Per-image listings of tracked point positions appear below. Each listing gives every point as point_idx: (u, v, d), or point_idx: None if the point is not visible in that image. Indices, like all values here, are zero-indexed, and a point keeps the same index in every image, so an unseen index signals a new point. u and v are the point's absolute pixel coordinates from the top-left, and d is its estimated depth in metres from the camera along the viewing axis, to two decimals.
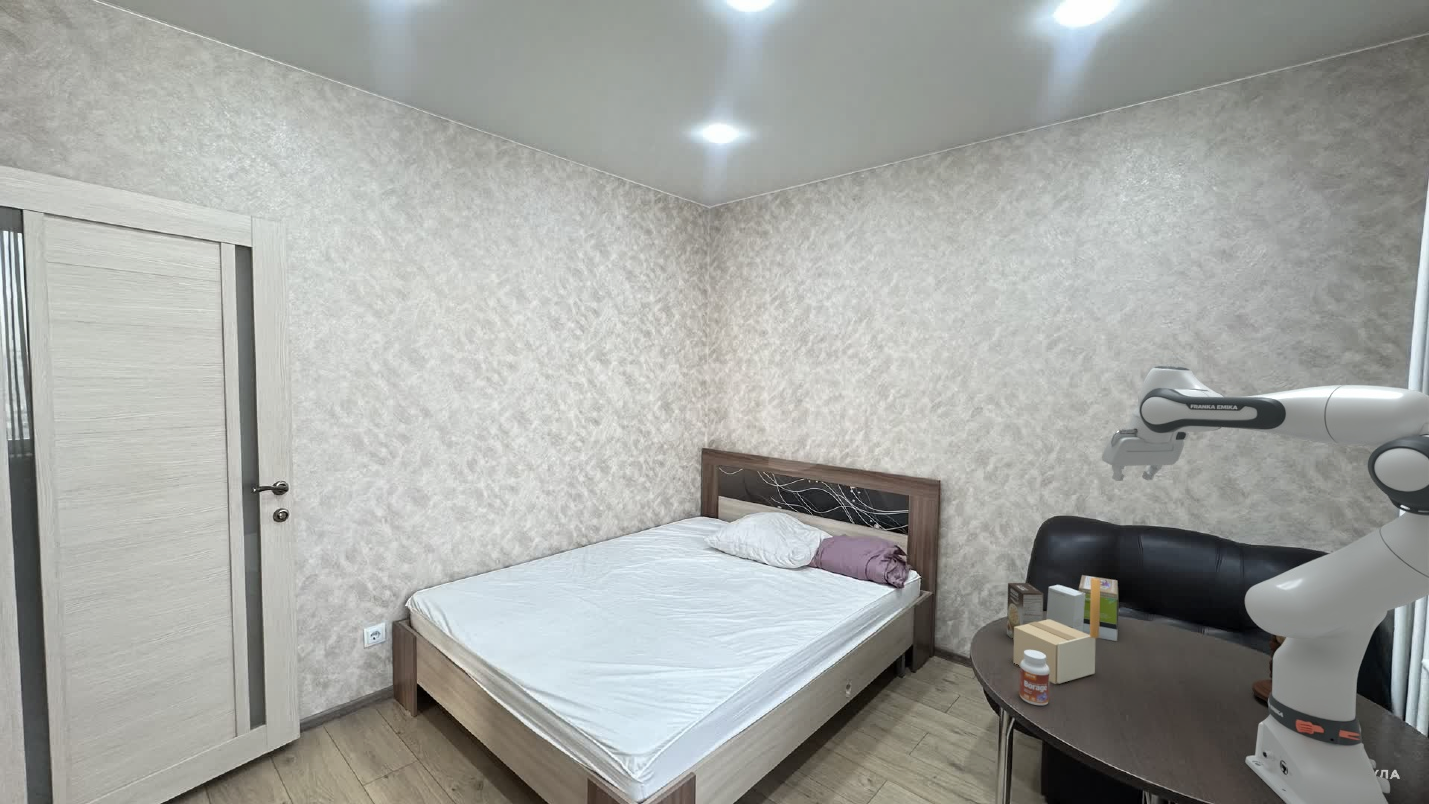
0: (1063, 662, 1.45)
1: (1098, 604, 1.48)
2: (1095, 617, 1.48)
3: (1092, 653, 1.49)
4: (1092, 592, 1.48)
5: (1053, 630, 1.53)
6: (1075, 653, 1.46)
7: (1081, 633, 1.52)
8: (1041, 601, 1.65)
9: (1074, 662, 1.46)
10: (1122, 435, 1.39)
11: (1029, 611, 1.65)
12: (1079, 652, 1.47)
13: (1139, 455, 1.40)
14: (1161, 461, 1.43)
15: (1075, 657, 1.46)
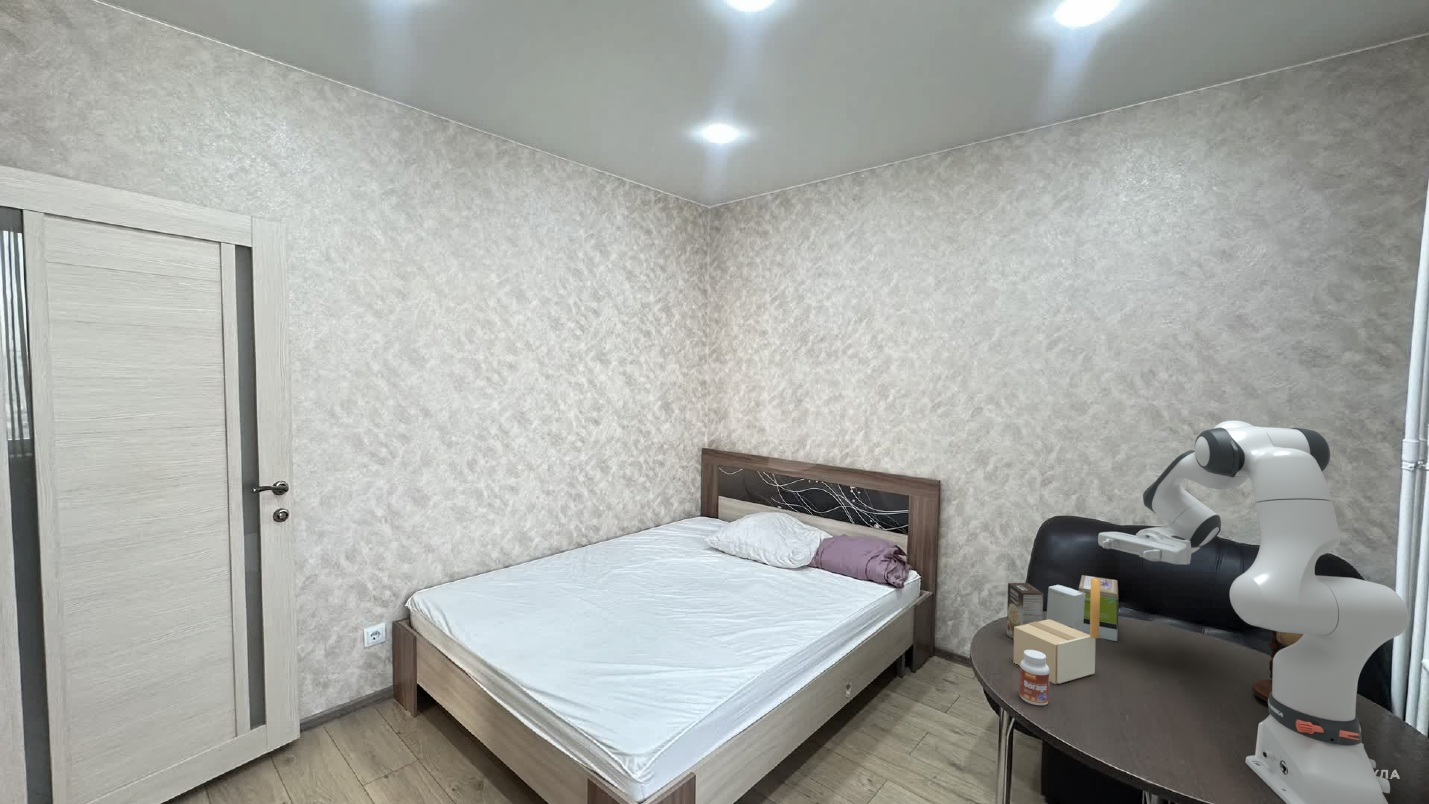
0: (1063, 662, 1.45)
1: (1098, 604, 1.48)
2: (1095, 617, 1.48)
3: (1092, 653, 1.49)
4: (1092, 592, 1.48)
5: (1053, 630, 1.53)
6: (1075, 653, 1.46)
7: (1081, 633, 1.52)
8: (1041, 601, 1.65)
9: (1074, 662, 1.46)
10: None
11: (1029, 611, 1.65)
12: (1079, 652, 1.47)
13: (1130, 537, 1.58)
14: (1156, 545, 1.51)
15: (1075, 657, 1.46)
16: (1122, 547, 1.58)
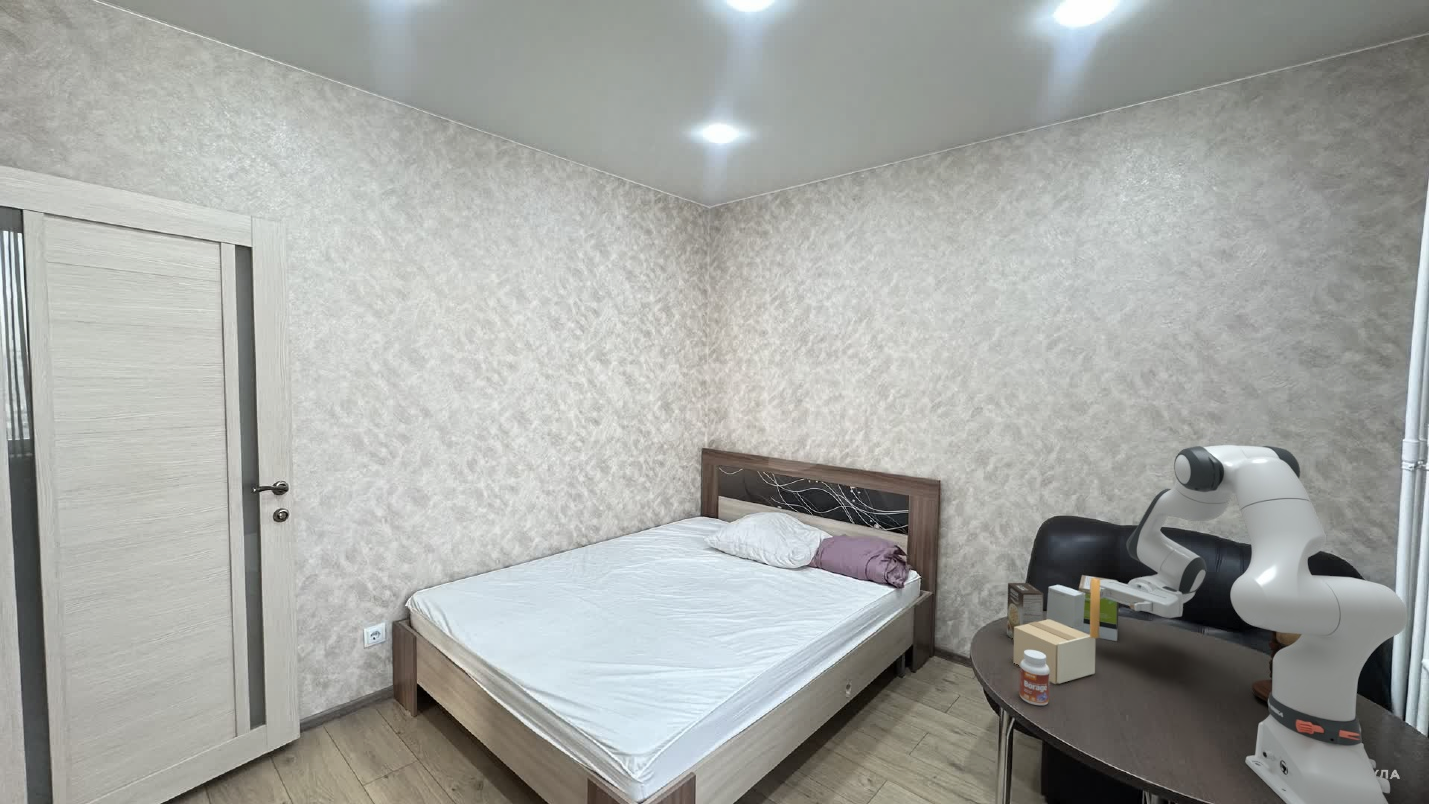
0: (1063, 662, 1.45)
1: (1098, 604, 1.48)
2: (1095, 617, 1.48)
3: (1092, 653, 1.49)
4: (1092, 592, 1.48)
5: (1053, 630, 1.53)
6: (1075, 653, 1.46)
7: (1081, 633, 1.52)
8: (1041, 601, 1.65)
9: (1074, 662, 1.46)
10: None
11: (1029, 611, 1.65)
12: (1079, 652, 1.47)
13: (1121, 587, 1.57)
14: (1147, 597, 1.49)
15: (1075, 657, 1.46)
16: (1114, 597, 1.57)
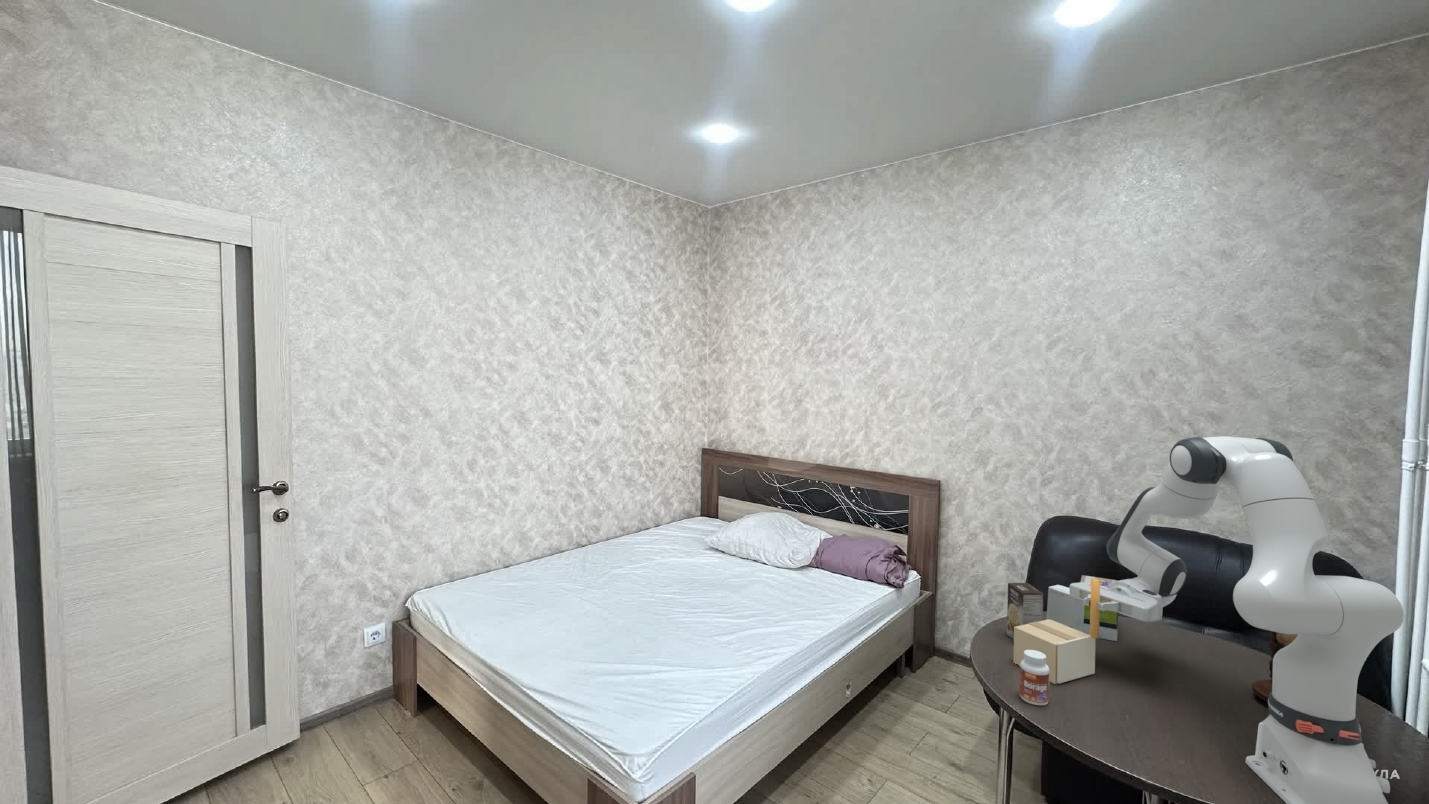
0: (1063, 662, 1.45)
1: None
2: (1095, 617, 1.48)
3: (1092, 653, 1.49)
4: (1092, 592, 1.48)
5: (1053, 630, 1.53)
6: (1075, 653, 1.46)
7: (1081, 633, 1.52)
8: (1041, 601, 1.65)
9: (1074, 662, 1.46)
10: None
11: (1030, 611, 1.65)
12: (1079, 652, 1.47)
13: (1101, 590, 1.54)
14: (1126, 600, 1.46)
15: (1075, 657, 1.46)
16: None
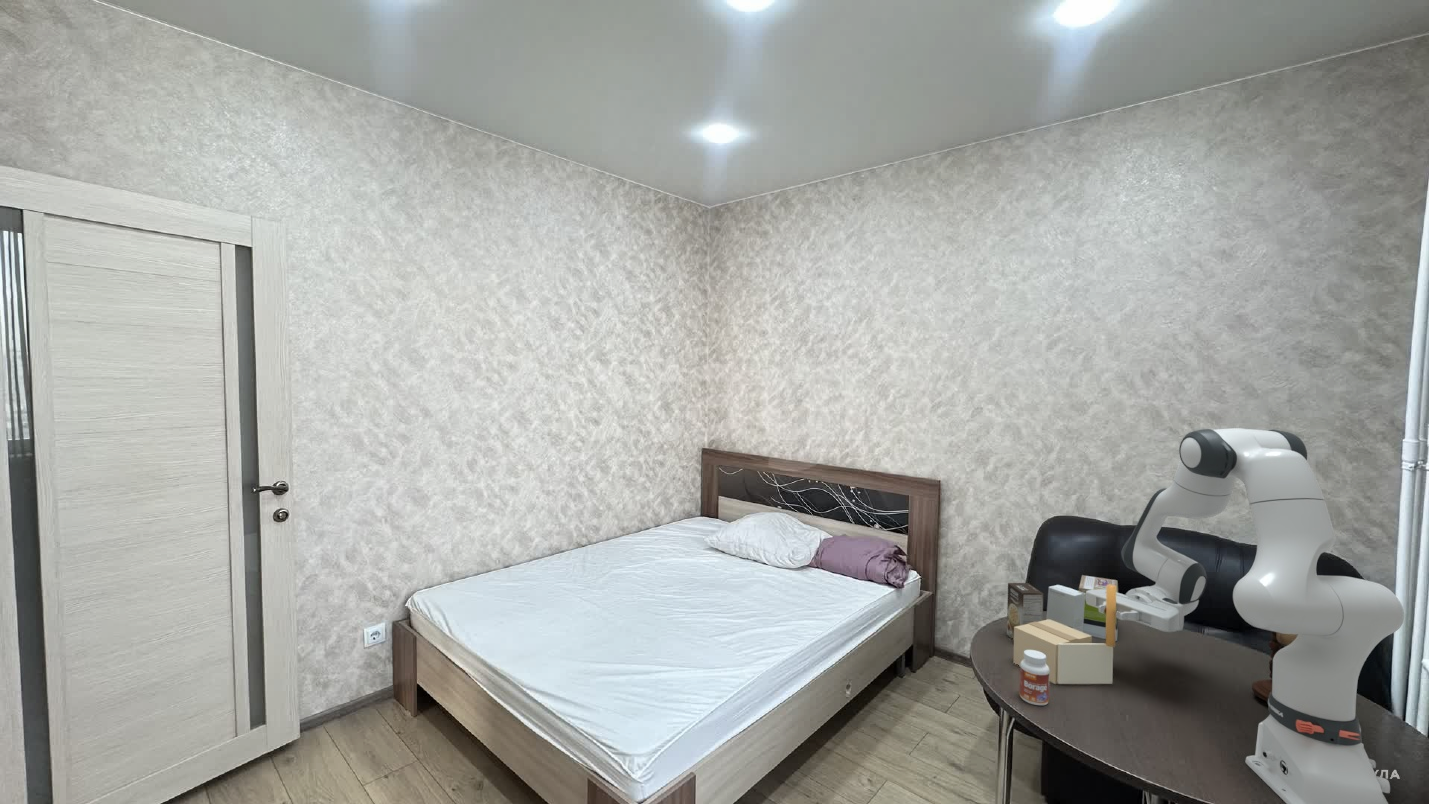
0: (1064, 663, 1.44)
1: (1113, 611, 1.43)
2: (1109, 625, 1.43)
3: (1108, 662, 1.44)
4: (1107, 598, 1.44)
5: (1053, 630, 1.53)
6: (1082, 657, 1.44)
7: (1081, 633, 1.52)
8: (1041, 601, 1.65)
9: (1081, 666, 1.44)
10: None
11: (1029, 611, 1.65)
12: (1088, 657, 1.44)
13: (1119, 598, 1.48)
14: (1145, 609, 1.40)
15: (1082, 661, 1.44)
16: None
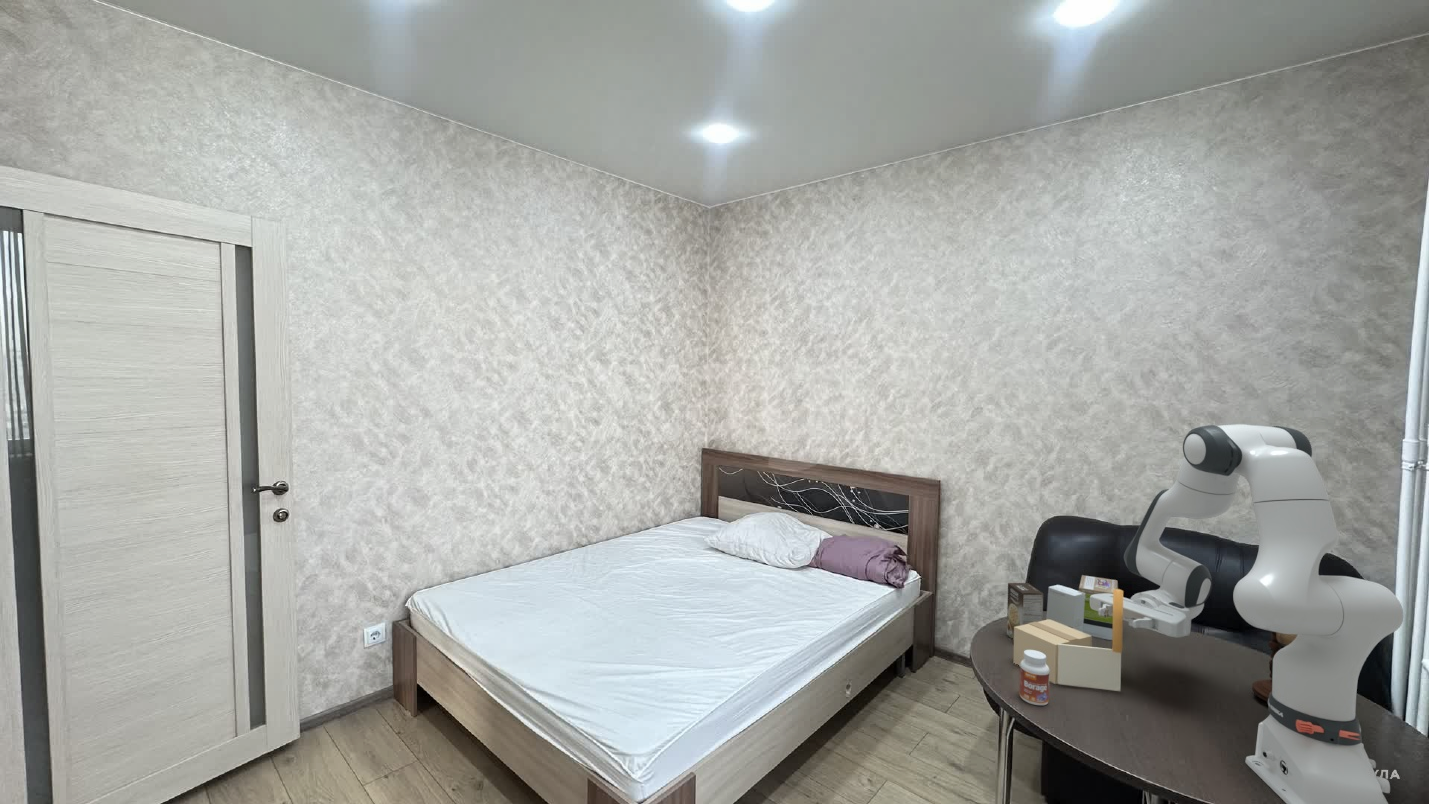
0: (1065, 664, 1.44)
1: (1119, 617, 1.39)
2: (1115, 630, 1.40)
3: (1115, 668, 1.41)
4: (1113, 603, 1.40)
5: (1053, 630, 1.53)
6: (1085, 660, 1.42)
7: (1081, 633, 1.52)
8: (1041, 601, 1.65)
9: (1084, 669, 1.42)
10: None
11: (1029, 611, 1.65)
12: (1092, 661, 1.42)
13: (1124, 602, 1.45)
14: (1152, 614, 1.37)
15: (1085, 665, 1.42)
16: None
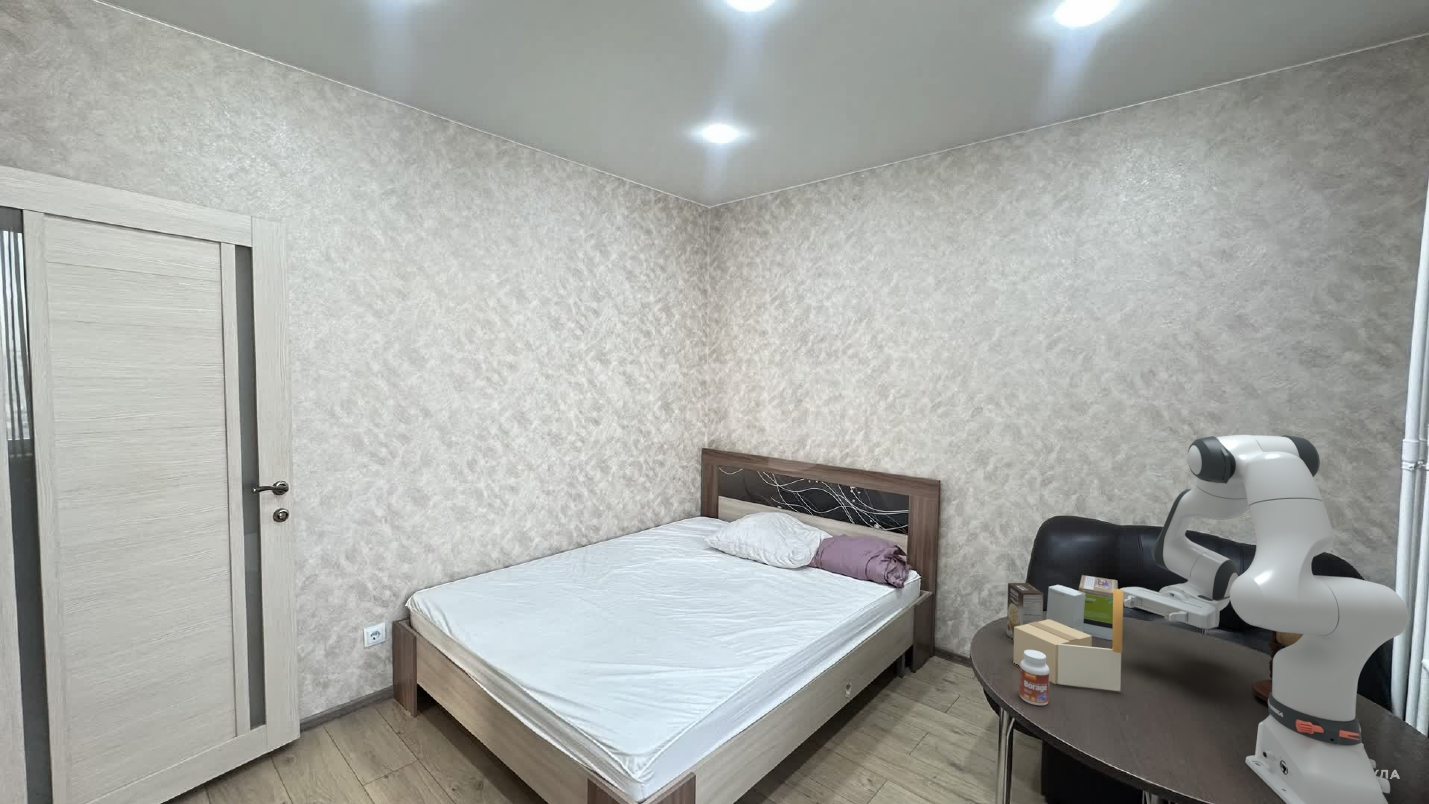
0: (1065, 664, 1.44)
1: (1119, 617, 1.39)
2: (1115, 630, 1.40)
3: (1115, 668, 1.41)
4: (1113, 603, 1.40)
5: (1053, 630, 1.53)
6: (1085, 660, 1.42)
7: (1081, 633, 1.52)
8: (1041, 601, 1.65)
9: (1084, 669, 1.42)
10: None
11: (1029, 611, 1.65)
12: (1092, 661, 1.42)
13: (1153, 595, 1.49)
14: (1182, 606, 1.42)
15: (1085, 665, 1.42)
16: (1145, 606, 1.49)
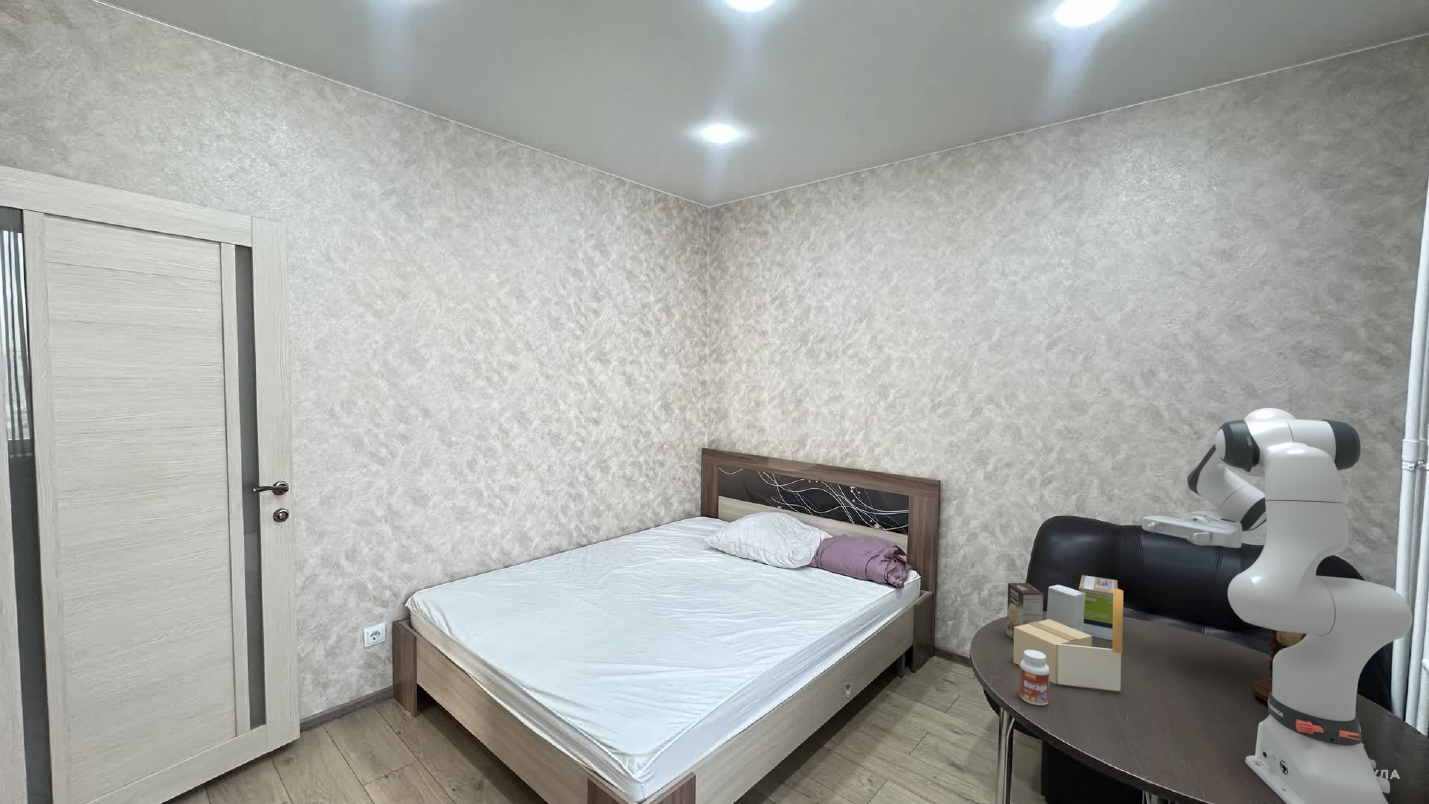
0: (1065, 664, 1.44)
1: (1119, 617, 1.39)
2: (1115, 630, 1.40)
3: (1115, 668, 1.41)
4: (1113, 603, 1.40)
5: (1053, 630, 1.53)
6: (1085, 660, 1.42)
7: (1081, 633, 1.52)
8: (1041, 601, 1.65)
9: (1084, 669, 1.42)
10: None
11: (1029, 611, 1.65)
12: (1092, 661, 1.42)
13: (1176, 521, 1.53)
14: (1206, 527, 1.45)
15: (1085, 665, 1.42)
16: (1168, 531, 1.52)
